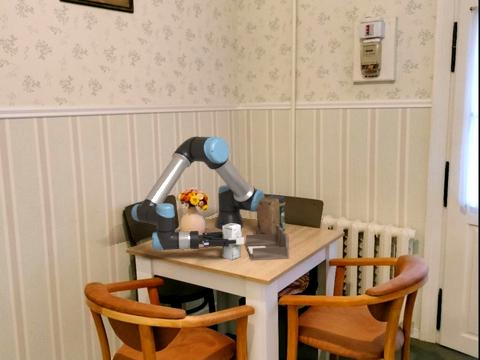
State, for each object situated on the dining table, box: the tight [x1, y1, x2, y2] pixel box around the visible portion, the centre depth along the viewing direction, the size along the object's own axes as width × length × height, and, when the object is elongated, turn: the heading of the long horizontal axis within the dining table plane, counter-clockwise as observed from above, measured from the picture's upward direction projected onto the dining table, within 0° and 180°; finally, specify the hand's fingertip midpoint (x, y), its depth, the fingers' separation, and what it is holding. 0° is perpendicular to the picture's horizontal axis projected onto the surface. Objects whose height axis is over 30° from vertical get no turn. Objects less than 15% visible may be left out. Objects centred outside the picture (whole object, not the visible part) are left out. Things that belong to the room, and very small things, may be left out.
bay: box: [244, 224, 290, 261], centre depth 200 cm, size 22×16×10 cm
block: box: [256, 196, 280, 235], centre depth 223 cm, size 11×8×20 cm
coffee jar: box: [267, 194, 287, 231], centre depth 237 cm, size 10×8×19 cm
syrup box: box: [221, 223, 242, 261], centre depth 192 cm, size 6×6×14 cm
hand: (242, 237), depth 192 cm, fingers closed on syrup box, 8 cm apart
